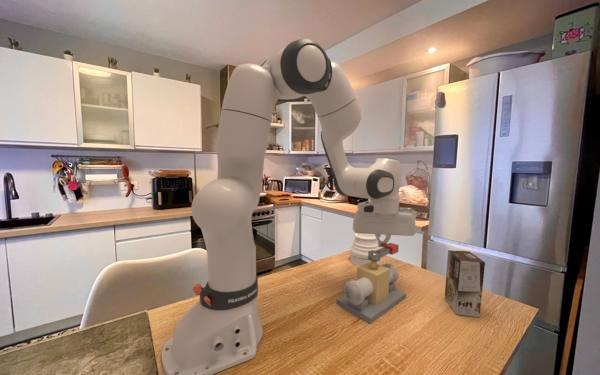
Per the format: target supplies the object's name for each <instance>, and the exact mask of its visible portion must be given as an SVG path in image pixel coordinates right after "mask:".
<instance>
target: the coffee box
mask: <svg viewBox="0 0 600 375" xmlns="http://www.w3.org/2000/svg"><path fill="white" fill-rule="evenodd" d="M446 261H447V262H446V274H445V275H446V276H445V287H444V289H445V290H444V299H445V301H446V302H447V304H448V305H449V306H450V308H451V309H452V311H453V312H454V313H455V314H456V315H458V316H459V315H460V316H468V317H472V318H473V317H475V318H480V315H481V307H482V306H481V305H482V296H483V285H484V278H485V276H484V275H485V267H486V262H485V261H484V260H482V259H481V258H479V257H478V256H477V255H475V254H474V253H472V252H471V251H467V250H449V249H448V250H447V260H446Z"/></svg>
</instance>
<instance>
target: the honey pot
mask: <svg viewBox="0 0 600 375" xmlns="http://www.w3.org/2000/svg"><path fill="white" fill-rule="evenodd" d="M351 245H352V246H351V247H350V257H349V258H350V260H349V261H350V263H351V264H353V265H354V266H356V267H359V266H362V265H364V264H366V263H368V262H371V260H369V259H368V251H371V250H374V251H376V250H378V249H381V247H378V240H377V238H376V236H375V234H362V233H355V232H354V240H353V242H352V244H351ZM381 263H382V257H381V258H380V261H377V264H378V265H380V266H382V265H381Z"/></svg>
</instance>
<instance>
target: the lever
mask: <svg viewBox="0 0 600 375" xmlns="http://www.w3.org/2000/svg"><path fill="white" fill-rule="evenodd" d="M399 247H400V246H399V244H396V243H394V242H393V243H392V242H387V244H386V245H384V247H380V249H378V250H376V251H374V250H371V251H368V259H369V260H371V261H380V258H381V259H382V258H383V257H386V256H387V255H390V256H391V255H394V254H397V253H399Z"/></svg>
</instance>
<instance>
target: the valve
mask: <svg viewBox="0 0 600 375" xmlns="http://www.w3.org/2000/svg"><path fill="white" fill-rule="evenodd" d="M356 267H357V268H356V280H355V279H352V280H349V281H347V282H346V283H345V284H344V286H343V292H344V294H342V295H341V296H339V297H337V298H336V299H335V304H336V305H338V306H340V307H341V308H342V309H345V310H346V311H348V312H349V313H351V314H353V315H354V316H356V317H358V318H360V319H361V320H362V321H364V322H366V323H368V324H370V325H371V324H372V323H373V322H375V321H376V320H378V319H379V318H380V317H381V316H383V315H384V314H386V313H387V312H388V311H390V310H391V309H392V308H394V307H395V306H397V305H398V304H400V303H401V302H402V301H403V300H405V299H406V298H407V293H406V292H404V291H403V290H400V289H397V288H395V287H396V284H395V283H396V282H397V281H399V278H400V277H399V276H400V275H399V274H400V273H399V271H398V269H397V268H396V266H394V265H393V264H392V263H388V262H387V263H383V264H382V265H378V264H377V261H371V262H368V263H366V264H364V265H362V266H356Z"/></svg>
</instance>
